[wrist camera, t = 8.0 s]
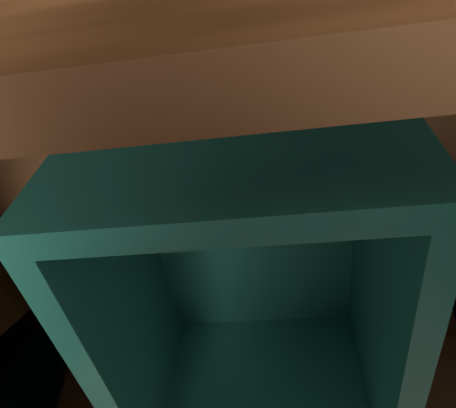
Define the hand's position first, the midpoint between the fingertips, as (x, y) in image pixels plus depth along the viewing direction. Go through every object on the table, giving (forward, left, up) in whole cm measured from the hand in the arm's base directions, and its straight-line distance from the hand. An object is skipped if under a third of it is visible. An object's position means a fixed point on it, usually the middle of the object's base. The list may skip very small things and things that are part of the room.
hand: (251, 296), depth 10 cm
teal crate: (0, 0, -3) cm, 3 cm away
